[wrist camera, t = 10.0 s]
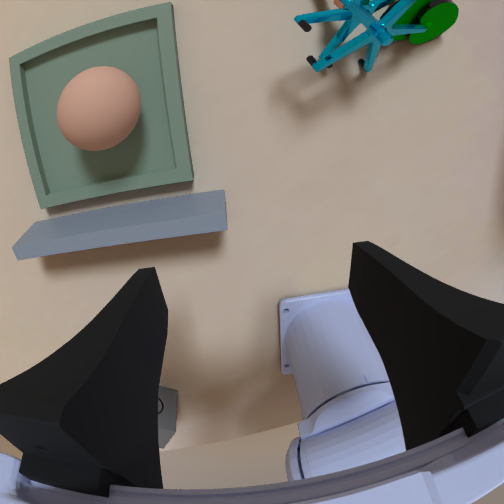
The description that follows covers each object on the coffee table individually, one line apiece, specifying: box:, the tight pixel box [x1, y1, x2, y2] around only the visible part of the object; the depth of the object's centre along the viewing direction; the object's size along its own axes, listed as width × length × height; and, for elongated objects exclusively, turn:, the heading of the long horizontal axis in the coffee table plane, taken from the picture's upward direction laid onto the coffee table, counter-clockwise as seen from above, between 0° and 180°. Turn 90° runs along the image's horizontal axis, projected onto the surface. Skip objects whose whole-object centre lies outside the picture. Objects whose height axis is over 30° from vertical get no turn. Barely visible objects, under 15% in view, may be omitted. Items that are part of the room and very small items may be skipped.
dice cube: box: [158, 386, 178, 449], centre depth 28 cm, size 5×5×5 cm
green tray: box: [9, 2, 194, 209], centre depth 15 cm, size 11×11×1 cm
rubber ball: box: [57, 66, 141, 151], centre depth 13 cm, size 4×4×4 cm
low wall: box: [12, 190, 228, 260], centre depth 18 cm, size 1×14×4 cm, turn 95°
